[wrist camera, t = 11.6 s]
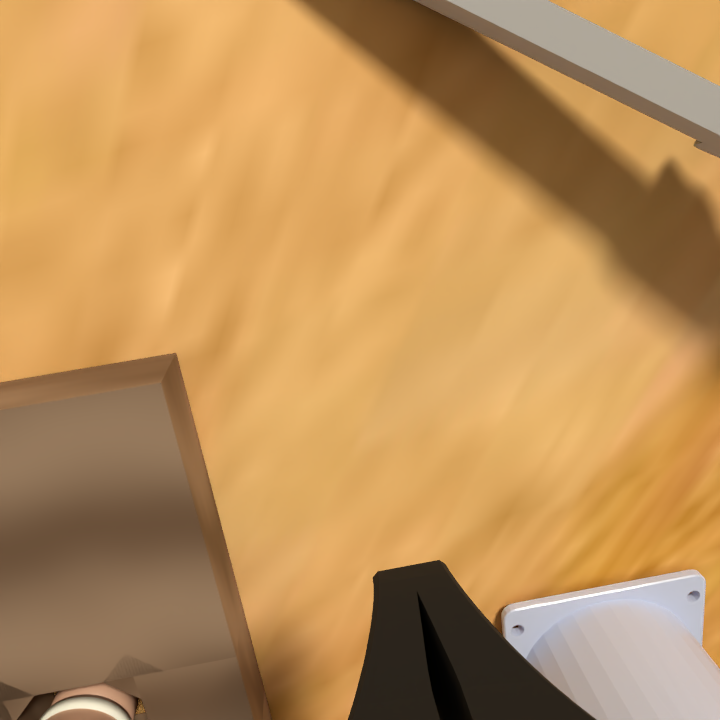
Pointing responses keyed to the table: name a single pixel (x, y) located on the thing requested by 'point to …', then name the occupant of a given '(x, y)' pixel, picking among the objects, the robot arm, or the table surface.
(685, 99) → the caliper
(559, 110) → the table surface
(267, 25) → the table surface
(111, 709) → the peg
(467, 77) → the table surface
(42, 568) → the board
